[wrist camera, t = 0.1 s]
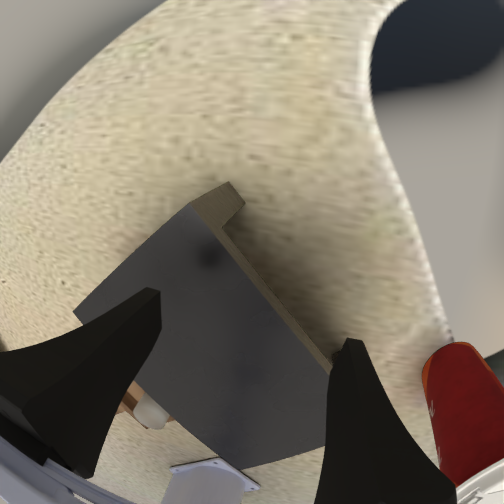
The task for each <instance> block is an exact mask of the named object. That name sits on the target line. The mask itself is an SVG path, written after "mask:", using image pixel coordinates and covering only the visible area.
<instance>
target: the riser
mask: <svg viewBox="0 0 504 504" xmlns="http://www.w3.org/2000/svg"><path fill="white" fill-rule="evenodd" d="M244 204H245V202H244V200H243V199H242V198H241V197H240V195H239V194H238V193H237V192H236V190H235V189H234V188H233V186H232V185H231V184H230V183H229V182H227V183H225V184H223V185H221V186H219V187H217V188H215V189H214V190H212V191H210V192H208V193H206V194H204V195H203V196H201V197H199V198H197V199H195V200H193V201H192V202H190V203H188V204H187V205H186V206H185V207H184V208H183V209H181V210H180V211H179V212H178V213H177V214H176V215H174V216H173V217H172V218H171V219H170V220H169V221H168V222H166V223H165V224H164V225H163V226H162V227H161V228H160V229H159V230H157V231H156V232H155V233H154V234H153V235H152V236H151V237H150V238H148V239H147V240H146V241H145V242H144V243H143V244H142V245H141V246H140V247H139V248H138V249H136V250H135V251H134V252H133V253H132V254H131V255H130V256H129V257H128V258H127V259H126V260H125V261H124V262H122V263H121V264H120V265H119V266H118V267H117V268H116V269H115V270H114V271H113V272H112V273H111V274H110V275H109V276H108V277H107V278H106V279H105V280H104V281H103V282H102V283H101V284H100V285H99V286H98V287H97V288H95V289H94V290H93V291H92V292H91V293H90V294H89V295H88V296H87V297H86V298H85V299H84V300H83V301H82V302H81V303H80V304H79V306H78V307H77V308H76V309H75V310H74V311H73V313H74V314H75V315H76V317H77V318H78V319H79V320H80V321H81V323H82V324H83V325H85V324H87V323H88V322H90V321H92V320H94V319H95V318H97V317H99V316H101V315H103V314H104V313H106V312H107V311H109V310H111V309H112V308H114V307H116V306H117V305H119V304H120V303H122V302H123V301H125V300H127V299H128V298H130V297H131V296H133V295H134V294H136V293H137V292H139V291H141V290H142V289H144V288H146V287H149V288H152V289H156V290H159V291H161V317H162V330H161V332H160V334H159V337H158V339H157V341H156V343H155V345H154V347H153V350H152V351H151V353H150V354H149V356H148V358H147V359H146V361H145V363H144V364H143V366H142V367H141V369H140V371H139V372H138V374H137V375H136V377H135V378H134V381H135V382H136V383H137V384H138V385H139V386H140V387H141V388H142V389H143V390H144V391H145V392H146V393H147V394H148V395H149V396H150V397H151V398H152V399H153V400H154V401H155V402H156V403H157V404H158V405H160V406H161V407H162V408H163V409H164V410H165V411H166V412H167V413H168V414H169V415H171V416H172V417H173V418H174V419H175V420H176V421H177V422H178V423H180V424H181V425H182V426H183V427H184V428H185V429H187V430H188V431H189V432H190V433H191V434H193V435H194V436H195V437H196V438H197V439H199V440H200V441H201V442H202V443H204V444H205V445H206V446H207V447H209V448H210V449H211V450H212V451H214V452H215V453H216V454H218V455H219V456H220V457H221V458H223V459H224V460H225V461H227V462H228V463H230V464H231V465H232V466H234V467H235V468H236V469H238V470H242V469H247V468H251V467H255V466H259V465H263V464H267V463H271V462H275V461H278V460H282V459H285V458H289V457H292V456H295V455H299V454H302V453H305V452H308V451H311V450H314V449H317V448H320V447H323V446H325V438H326V407H327V390H328V383H329V376H330V371H331V369H332V367H333V366H332V365H331V364H330V363H329V361H328V360H327V359H326V358H325V356H324V355H323V354H322V353H321V352H320V350H319V349H318V348H317V347H316V345H315V344H314V343H313V342H312V340H311V339H310V338H309V337H308V335H307V334H306V333H305V332H304V330H303V329H302V328H301V327H300V325H299V324H298V323H297V322H296V321H295V319H294V318H293V317H292V316H291V314H290V313H289V312H288V311H287V309H286V308H285V307H284V306H283V304H282V303H281V302H280V301H279V299H278V298H277V297H276V296H275V294H274V293H273V292H272V291H271V289H270V288H269V287H268V286H267V284H266V283H265V282H264V281H263V279H262V278H261V277H260V276H259V274H258V273H257V272H256V271H255V269H254V268H253V267H252V266H251V264H250V263H249V262H248V260H247V259H246V258H245V257H244V255H243V254H242V253H241V252H240V250H239V249H238V248H237V247H236V245H235V244H234V243H233V242H232V240H231V239H230V238H229V237H228V235H227V234H226V233H225V232H224V230H223V229H222V228H221V227H222V226H223V225H224V224H225V223H226V222H227V221H228V220H229V219H230V218H231V217H232V216H233V215H234V214H235V213H236V212H237V211H238V210H239V209H240V208H241V207H242V206H243V205H244ZM339 353H340V351H339V352H337V353H335V354H333V355H332V359H333V365H334V363H335V361H336V359H337V357H338V355H339Z"/></svg>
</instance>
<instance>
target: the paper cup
mask: <svg viewBox="0 0 504 504" xmlns="http://www.w3.org/2000/svg"><path fill="white" fill-rule="evenodd" d="M422 382H423V387H424V392H425V396H426V401H427V405H428V410H429V414H430V419H431V424H432V429H433V434H434V439H435V444H436V450H437V455H438V461H439V467H440V471H441V472H442V473H444V474H445V475H446V476H447V477H448V478H449V479H450V480H451V481H452V482H453V483H454V484H455V485H456V492H457V504H504V387H503V386H502V385H501V383H500V382H499V380H498V379H497V377H496V376H495V374H494V373H493V371H492V370H491V369H490V367H489V366H488V364H487V363H486V362H485V360H484V359H483V358H482V356H481V355H480V354H479V353H478V351H477V350H476V349H475V348H474V347H473V346H472V345H471V344H469V343H466V342H455V343H451V344H448V345H446V346H444V347H442V348H441V349H439V350H438V351H436V352H435V353H434V354H433V355H432V356H431V357H430V358H429V360H428V361H427V362H426V364H425V366H424V368H423V371H422Z"/></svg>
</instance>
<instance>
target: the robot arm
mask: <svg viewBox="0 0 504 504" xmlns="http://www.w3.org/2000/svg"><path fill="white" fill-rule="evenodd" d="M161 330H162V317H161V291H159V290H156V289H152V288H149V287H146V288H144V289H142V290H141V291H139V292H137V293H136V294H134V295H133V296H131V297H130V298H128V299H127V300H125V301H123V302H122V303H120V304H119V305H117V306H116V307H114V308H112V309H111V310H109V311H107V312H106V313H104V314H103V315H101V316H99V317H97V318H95V319H94V320H92V321H90V322H88V323H87V324H85V325H83V326H81V327H79V328H77V329H75V330H73V331H70V332H68V333H66V334H64V335H61V336H59V337H56V338H53V339H50V340H48V341H45V342H42V343H39V344H36V345H32V346H29V347H25V348H21V349H17V350H12V351H6V352H0V497H1V498H2V499H3V500H4V501H5V502H6V503H8V504H86V503H84V502H82V501H80V500H79V499H77V498H76V497H74V494H73V493H75V494H77V495H79V496H80V497H82V498H84V499H86V500H88V501H90V502H92V503H94V504H136V503H134V502H131V501H129V500H127V499H124V498H122V497H120V496H118V495H115V494H113V493H111V492H109V491H107V490H105V489H103V488H101V487H99V486H97V485H95V484H93V483H91V482H89V481H87V480H85V479H88V478H91V477H93V475H94V472H95V468H96V465H97V462H98V459H99V455H100V452H101V449H102V447H103V444H104V441H105V439H106V436H107V433H108V431H109V428H110V426H111V423H112V421H113V419H114V416H115V414H116V412H117V410H118V407H119V405H120V403H121V401H122V399H123V397H124V395H125V393H126V391H127V390H128V388H129V387H130V385H131V383H132V382H133V380H134V378H135V377H136V375H137V374H138V372H139V371H140V369H141V367H142V366H143V364H144V363H145V361H146V359H147V358H148V356H149V354H150V353H151V351H152V350H153V347H154V345H155V343H156V341H157V339H158V337H159V334H160V332H161ZM65 468H66V469H65ZM169 471H170V472H172V473H173V476H172V478H171V481H170V483H169V485H168V488H167V490H166V492H165V495H164V497H163V499H162V501H161V504H241V501H242V498H243V494H244V492H248V491H253V490H259V489H260V485H258V484H257V483H255V482H254V481H252V480H251V479H249V478H248V477H246V476H245V475H244V474H242V473H241V472H239V471H238V470H236V469H235V468H234V467H232V466H231V465H230V464H228V463H227V462H226V461H224V460H223V459H221V458H215V459H210V460H206V461H201V462H196V463H191V464H186V465H181V466H175V467H170V469H169ZM72 472H73V473H72ZM81 477H82V478H81ZM83 478H84V479H83ZM71 491H72V492H71ZM314 504H457V492H456V485H455V484H454V483H453V482H452V481H451V480H450V479H449V478H448V477H447V476H446V475H445V474H444V473H442V472H441V471H440V470H439V469H438V468H437V467H436V466H435V464H434V463H433V462H432V461H431V460H430V459H429V458H428V457H427V456H426V454H425V453H424V452H423V451H422V449H421V448H420V447H419V446H418V444H417V443H416V442H415V440H414V439H413V438H412V436H411V435H410V434H409V432H408V431H407V429H406V428H405V426H404V424H403V423H402V421H401V420H400V418H399V417H398V415H397V413H396V411H395V410H394V408H393V406H392V404H391V402H390V400H389V398H388V396H387V394H386V392H385V390H384V388H383V386H382V384H381V382H380V380H379V378H378V375H377V373H376V371H375V369H374V366H373V364H372V362H371V359H370V357H369V355H368V352H367V350H366V347H365V345H364V343H363V341H362V340H357V339H352V338H347V339H346V341H345V343H344V345H343V347H342V349H341V351H340V353H339V355H338V357H337V359H336V361H335V363H334V365H333V367H332V369H331V371H330V376H329V383H328V390H327V407H326V438H325V452H324V459H323V464H322V470H321V475H320V480H319V485H318V489H317V494H316V498H315V502H314Z"/></svg>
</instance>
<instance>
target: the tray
mask: <svg viewBox="0 0 504 504" xmlns="http://www.w3.org/2000/svg"><path fill="white" fill-rule="evenodd" d="M124 411H127V412H128V413H129V414H130V415H131V416H132V417H133V418H134V419H136V420H137V421H138V422H139V423H140V424H141V425H142V426H143V427H145V428H146V429H148V428H151V429H162V428H163V427H164V426H165V424H166V423H167V422H170V421H173V420H175V419H174V418H173V417H172V416H171V415H169V414H168V413H167V412H166V411H165V410H164V409H163V408H162V407H161V406H160V405H158V404H157V403H156V402H155V401H154V400H153V399H152V398H151V397H150V396H149V395H148V394H147V393H146V392H145V391H144V390H143V389H142V388H141V387H140V386H139V385H138V384H137V383H136V382H135V381H134V380H133V382H132V383H131V385H130V387H129V388H128V390H127V391H126V393H125V395H124V397H123V399H122V401H121V403H120V405H119V407H118V410H117V412H116V414H119V413H121V412H124ZM116 414H115V415H116Z"/></svg>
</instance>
